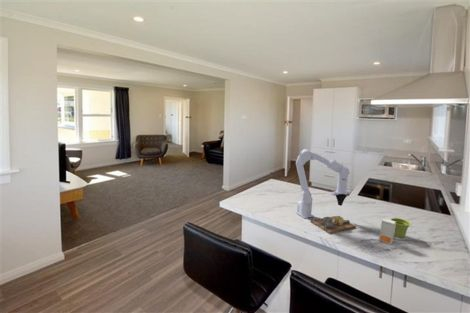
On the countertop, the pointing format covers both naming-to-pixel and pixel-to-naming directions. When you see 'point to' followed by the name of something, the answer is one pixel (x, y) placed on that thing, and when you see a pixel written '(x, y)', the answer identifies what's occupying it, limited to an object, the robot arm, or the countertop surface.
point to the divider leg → (338, 220)
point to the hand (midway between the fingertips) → (339, 205)
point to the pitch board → (332, 229)
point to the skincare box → (387, 231)
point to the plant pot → (400, 227)
